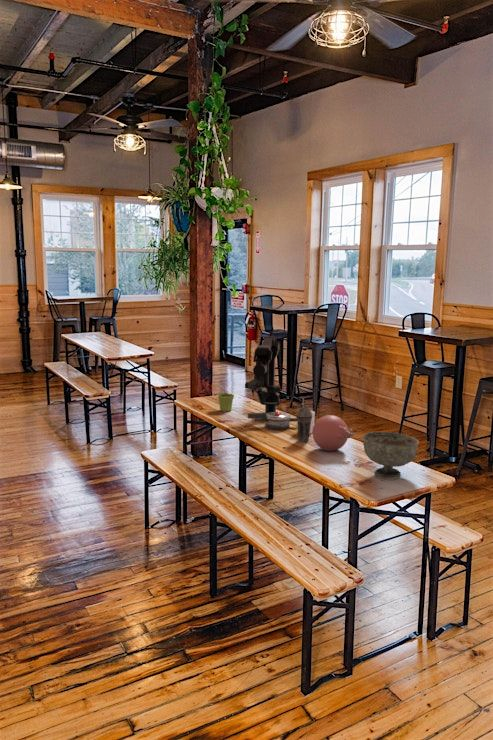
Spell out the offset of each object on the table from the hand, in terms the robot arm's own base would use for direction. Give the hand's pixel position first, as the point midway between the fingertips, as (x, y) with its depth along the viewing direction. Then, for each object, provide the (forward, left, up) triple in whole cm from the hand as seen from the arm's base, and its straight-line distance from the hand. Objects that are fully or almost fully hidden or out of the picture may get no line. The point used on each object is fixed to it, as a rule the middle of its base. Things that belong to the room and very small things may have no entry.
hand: (262, 404), depth 283 cm
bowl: (+65, +45, -12) cm, 80 cm away
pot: (-4, +8, -12) cm, 15 cm away
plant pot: (-37, -18, -12) cm, 43 cm away
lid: (-4, +4, -8) cm, 9 cm away
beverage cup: (+20, +18, -12) cm, 30 cm away
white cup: (+6, +21, -12) cm, 25 cm away
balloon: (+36, +29, -12) cm, 48 cm away
